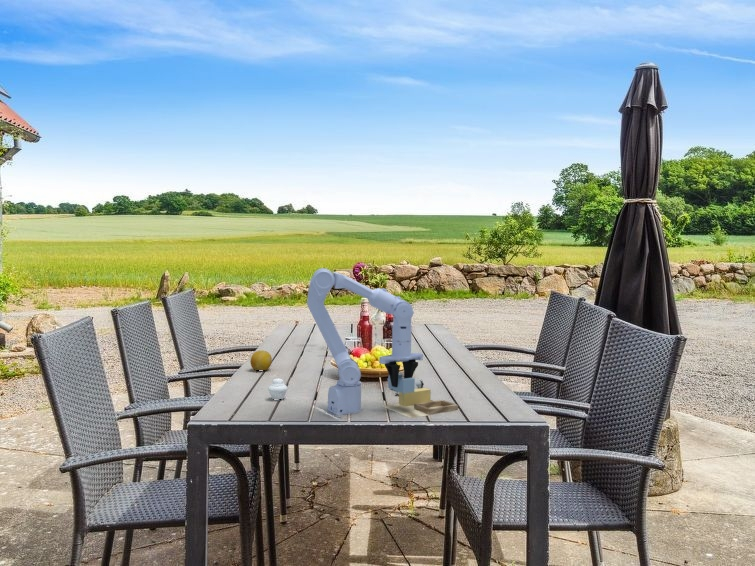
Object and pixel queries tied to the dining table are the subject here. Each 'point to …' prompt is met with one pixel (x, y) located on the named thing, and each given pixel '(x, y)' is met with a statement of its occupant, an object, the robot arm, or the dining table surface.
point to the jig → (423, 408)
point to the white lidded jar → (277, 389)
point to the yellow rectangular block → (414, 397)
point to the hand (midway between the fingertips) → (400, 385)
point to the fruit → (261, 360)
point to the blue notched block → (403, 384)
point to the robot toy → (418, 384)
